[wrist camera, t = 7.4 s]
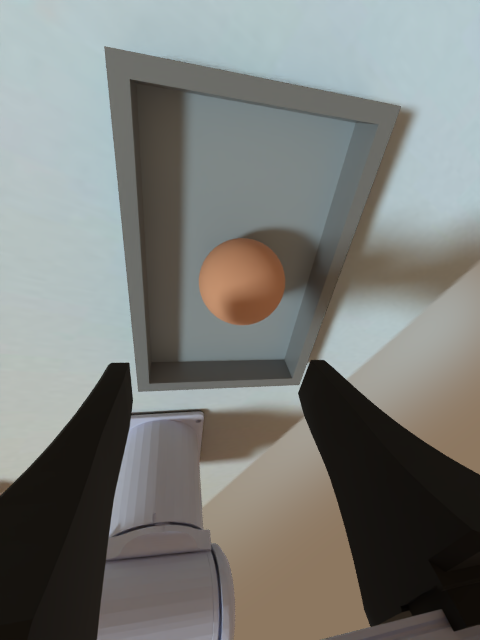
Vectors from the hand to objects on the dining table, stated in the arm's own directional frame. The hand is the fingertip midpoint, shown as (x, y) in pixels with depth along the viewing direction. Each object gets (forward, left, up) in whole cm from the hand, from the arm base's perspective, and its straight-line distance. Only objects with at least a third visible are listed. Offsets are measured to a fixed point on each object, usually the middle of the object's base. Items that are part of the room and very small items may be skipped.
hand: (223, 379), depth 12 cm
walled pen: (+1, -2, -10) cm, 10 cm away
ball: (+1, -2, -7) cm, 7 cm away
